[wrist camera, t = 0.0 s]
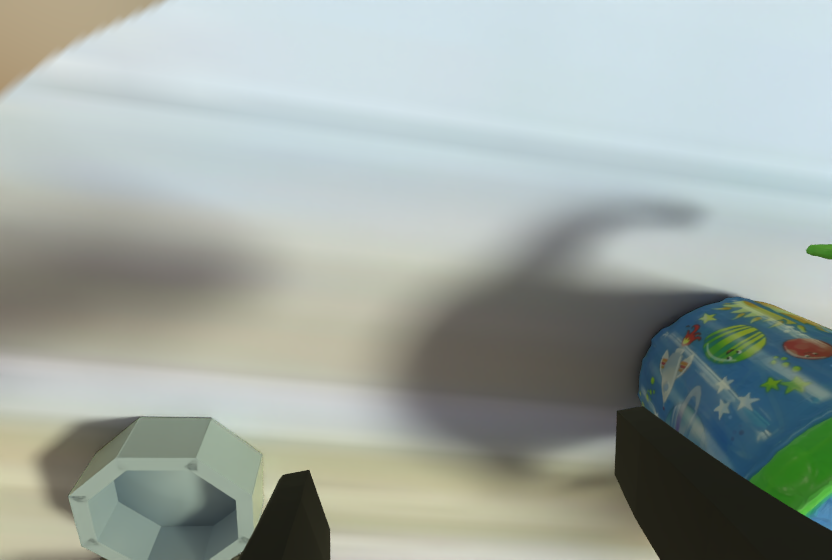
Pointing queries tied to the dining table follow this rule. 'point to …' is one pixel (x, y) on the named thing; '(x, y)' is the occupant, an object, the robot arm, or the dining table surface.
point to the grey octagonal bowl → (170, 492)
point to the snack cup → (751, 394)
